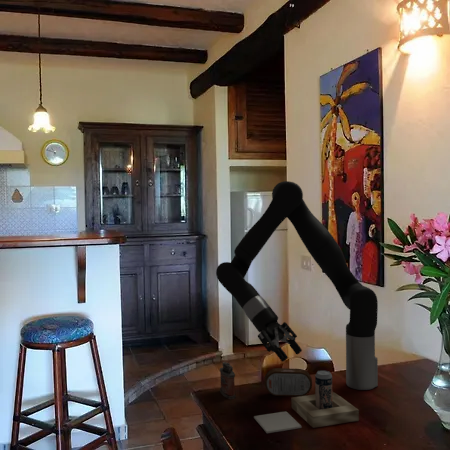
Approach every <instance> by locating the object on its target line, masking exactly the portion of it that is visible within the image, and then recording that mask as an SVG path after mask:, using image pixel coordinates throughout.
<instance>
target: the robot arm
mask: <svg viewBox="0 0 450 450" xmlns="http://www.w3.org/2000/svg"><path fill="white" fill-rule="evenodd" d="M271 197H272V199H271V201H270V203H269V205H268V206H267V208H266V210H265V211H264V213H263V214H262V215H261V217H260V218H259V219H258V220H257V221H256V222H255V223H254V224H253V225H252V226H251V228H250V229H249V230H248V231H247V232H246V233H245V234H244V236H243V237H242V239H241V240H240V241H239V242H238V244H237V245H236V247H235V249H234V250H233V252H234V253H233V254H234V256H233V259H232V260H231V261H230V262H228V261H224V262H221V263H220V264H219V265H218V266H217V267H216V271H215V274H216V278H217V280H218V282H219V283H220V285H222V286H223V288H224V289H225V290H226V291H228V293H229V294H230V296H231V295H232V297H234V299H235V300H236V302H237V303H238V305H239V306H240V307H241V309H242V310H243V312H244V314H245V315H246V317H247V318H248V320H250V321H249V322H251V324H252V325H253V326H254V327H255V329H256V330H257V332H258V334H257V338H258V339H259V341H260V342H261V344H262V345H263V347H264V348H265V349H266V351H267V352H269V353H270V352H272V353H274V354H275V355H276V356H277V358H278V359H279V360H280V361H281V362H285V361H286V360H287V359H288V355H287V353H285V352H284V349H282V347H280V344H279V342H280V341H281V342H283V343H286V344H288V345H289V346H290V348H291V350H292V351H293V352H294V353H295V354H296V355H299V354H301V352H302V351H303V349H302V348H301V347H300V345H299V344H298V342H297V341H296V338H297V337H298V336H297V334H296V333H295V332H294V331H293V329H292V328H291V327H290V326H289V324H288V323H287V322H286V321H284V322H283V323H281V324H280V323H279V322H278V320H279V317H278V315H277V313H276V312H275V311H274V309H272V307H271V306H270V304H268V301H266V300H265V299H264V298H263V297H262V296H261V294H260V293H259V292H258V291H257V289H256V288H255V287H254V286H253V285H252V284H251V283H250V282H248V281H247V280H246V279H245V277H246V275H247V273H248V271H249V269H250V267H251V265H252V263H253V261H254V260H255V259H256V257H258V254H259V253H261V251H262V249H263V247H264V246H265V245H266V243H268V241H269V240H270V238H271V236H272V235H273V234H274V233H275V231H276V230H277V229H278V227H279V226H280V225H281V224H282V223H283V222H284V220H286V218H287V219H288V220H289V222H290V223H291V224H292V226H293V227H294V229H295V231H296V232H297V234H298V237H299V238H300V240H301V241H302V244H303V246H305V248H306V250H307V252H308V253H309V254H310V256H311V257H312V259H313V260H314V262H315V263H316V264H317V265H318V267H319V268H320V269H321V271H322V272H323V273H324V274H325V275H326V276H327V278H328V279H329V280H330V281H331V283H332V284H333V286H334V288H335V289H336V291H337V293H338V296H339V297H340V299H341V301H342V302H343V304H344V306H345V308H347V309H348V310H349V322H348V323H347V324H346V326H345V372H346V373H345V383H346V386H347V387H348V388H351V389H353V390H359V391H368V390H373V389H374V388H376V387H378V375H379V373H378V372H379V371H378V369H379V368H378V364H379V363H378V361H379V360H378V357H376V335H375V333H376V328H377V327H378V326H377V325H378V311H379V310H378V309H379V307H378V303H379V302H378V297H377V294H376V293H375V291H374V290H373V289H372V288H369V287H367V286H365V285H363V284H362V283H361V282H360V281H359V280H358V279H357V278H356V276H355V275H354V274H353V272H352V271H351V270H350V268H349V266H348V264H347V261H346V258H345V255H344V253H343V250H342V248H341V247H340V244H338V242H337V241H336V239H335V238H334V236H333V235H332V234H331V232H330V231H329V230H328V229H327V227H326V226H325V225H324V224H323V223H322V222H321V221H320V220H319V219H318V218H317V217H316V216H315V215H314V213H312V211H311V210H310V208H309V206H308V205H307V204H306V202H305V200H304V192H303V190H302V188H301V187H300V185H299V184H298V183H295V182H294V181H288V180H287V181H285V180H284V181H281V182H278V183H277V184H275V185H274V187H273V189H272V193H271Z"/></svg>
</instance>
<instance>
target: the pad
mask: <svg viewBox="0 0 450 450" xmlns="http://www.w3.org/2000/svg"><path fill="white" fill-rule="evenodd" d="M253 419H254V420H255V421H256V422H257V423H258V425H259V426H260V427H261V428H262V429H263V430H264V432H265V433H266V434H272V433H278V432H284V431H285V432H286V431H290V430H291V431H292V430H296V429H302V425H301V423H299V422H298V421H297V420H296V419H295V418H294V417H292V415H291V414H290V413H289V412H287V411H286V410H285V411H279V412H274V413H266V414H259V415H254V416H253Z"/></svg>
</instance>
